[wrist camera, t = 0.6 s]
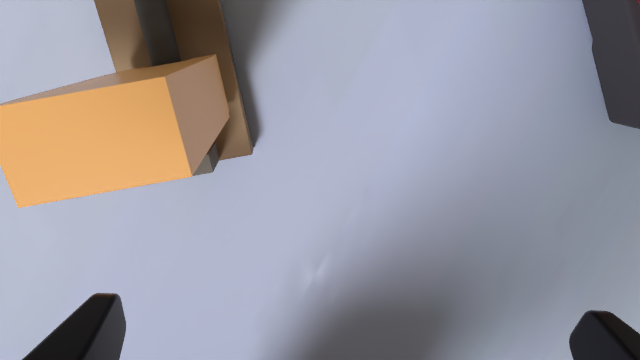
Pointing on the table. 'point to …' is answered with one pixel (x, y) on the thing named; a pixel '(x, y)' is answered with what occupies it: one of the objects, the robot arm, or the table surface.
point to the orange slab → (112, 131)
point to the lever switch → (179, 54)
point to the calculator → (617, 56)
